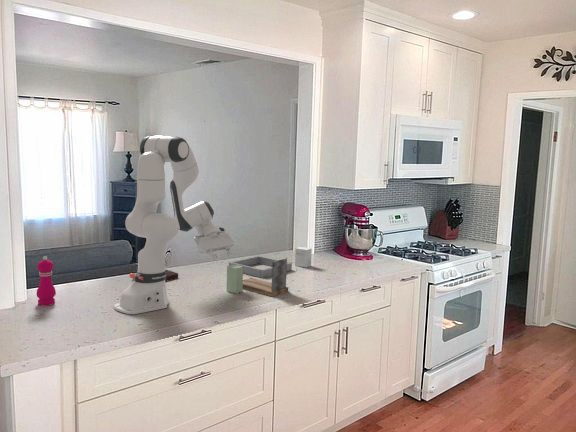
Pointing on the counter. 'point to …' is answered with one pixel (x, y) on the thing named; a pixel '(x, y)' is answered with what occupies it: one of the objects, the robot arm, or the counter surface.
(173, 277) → the book
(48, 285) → the pepper mill
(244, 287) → the bookend
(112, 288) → the counter surface
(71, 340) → the counter surface
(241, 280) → the sage green box
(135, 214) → the robot arm
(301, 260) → the small box
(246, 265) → the gray square frame
